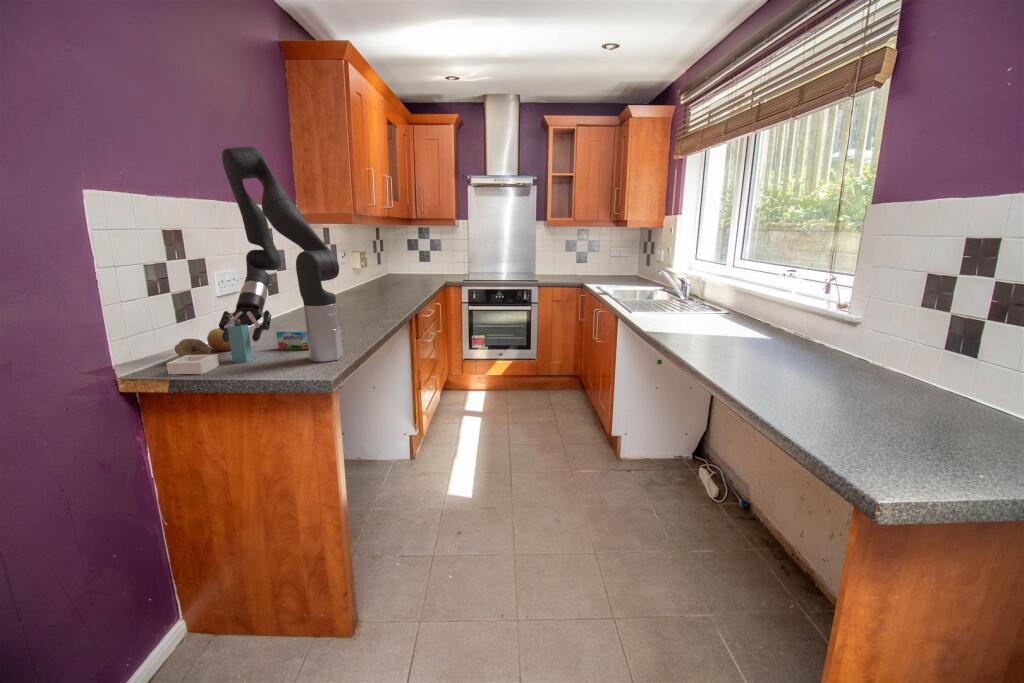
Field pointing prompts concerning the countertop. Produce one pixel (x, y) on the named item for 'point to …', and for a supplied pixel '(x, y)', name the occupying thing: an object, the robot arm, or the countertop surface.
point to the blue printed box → (292, 340)
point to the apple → (218, 340)
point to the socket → (193, 364)
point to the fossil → (192, 347)
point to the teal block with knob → (240, 342)
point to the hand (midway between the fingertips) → (240, 340)
